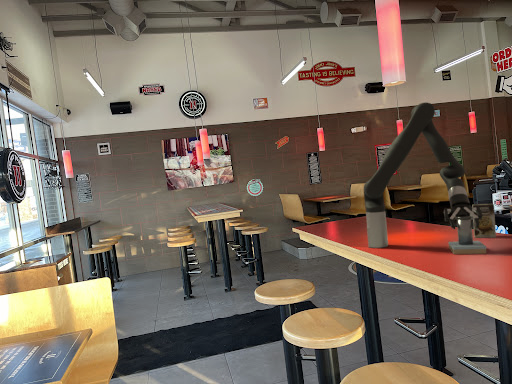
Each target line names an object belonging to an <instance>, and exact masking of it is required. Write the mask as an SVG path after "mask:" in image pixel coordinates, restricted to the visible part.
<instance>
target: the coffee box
mask: <svg viewBox="0 0 512 384" xmlns="http://www.w3.org/2000/svg"><path fill="white" fill-rule="evenodd" d="M476 206H479V207H480V210H481V213H482V215H483V217H482V220H479V223H480V225H479V227H478V228H476V227H475V223H474V220H473V221H472V222H473V223H472V225H473V238H477V239H480V238H481V239H482V238H483V239H484V238H486V239H487V238H488V239H489V238H490V239H493V238H495V239H496V238H497V234H496V218H495V217H496V215H495V204H494V203H473V204H472V206H471V207H472V208H475V207H476ZM472 212H473V213H474V214H475V215H476V216H477V213H475V212H474V211H472Z"/></svg>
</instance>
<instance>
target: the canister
mask: <svg viewBox="0 0 512 384" xmlns="http://www.w3.org/2000/svg"><path fill="white" fill-rule="evenodd" d="M455 220H456V227H457V240H458V241H457V242H459V244H460V245H472V244H473V241H474V239H473V238H474V234H473V226H472V225H473V223H472V219H471V216H457V217H456V219H455Z"/></svg>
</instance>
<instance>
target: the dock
mask: <svg viewBox="0 0 512 384" xmlns="http://www.w3.org/2000/svg"><path fill="white" fill-rule="evenodd" d="M448 249H449V250H450V251H451V252H452V254H453V255H479V254H480V255H481V254H483V255H484V254H487V246H486V245H485V244H484V243H482V241H480V240H473V244H472V245H460V244H459V241H448Z"/></svg>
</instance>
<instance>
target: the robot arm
mask: <svg viewBox="0 0 512 384" xmlns="http://www.w3.org/2000/svg"><path fill="white" fill-rule="evenodd" d="M435 113H436V108H435V106H434V105H433V104H432V103H430V102H425V101H424V102H422V103H419V104H417V105H416V106H414V107H413V108H412V109H411V112H410V119H409V121H408V123H407V124H406V126H405V127H404V129H402V130H401V132H400V133H399V134H398V135H397V136H396V137H395V138H394V139H393V141H392V143H391V144H389V145H390V146H389V147H388V148H387V150H386V152H385V153H384V156H383V158H382V160H381V163H380V165H379V167H378V168H377V171H376V172H375V173H374V174H373V176H371V178H370V179H369V180H367V181H365V183H364V184H363V197H364V207H365V216H366V231H367V233H366V235H367V245H368V248H372V249H373V248H375V249H377V248H387V247H388V246H389V239H388V238H389V237H388V228H387V214H386V205H385V198H384V192H385V191H386V188H387V186H388V184H389V182H390V180H391V178H392V177H393V176H394V175H395V173H396V172H397V171H398V169H399V168H400V167H401V165H402V164H403V163H404V162H405V160H406V158H407V157H408V155H409V154H410V152H411V151H412V149H413V147H414V145H415V143H416V142H417V140H418V138H419V137H420V135H421V133H422V134H423V136H424V138H425V140H426V142H427V143H428V145H429V147H430V149H431V152H432V153H433V156H434V157H435V159H436V161H437V163H439V164H444V163H449V164H450V165H446V166H445V167H442V168H441V169H440V170H439V176H440V178H441V180H442V181H443V182H444V184H445V185H446V186H445V187H446V188H447V193H448V201H449V204H450V208H447V207H444V208H443V215H444V216H443V217H444V222H448V223H449V224H450V227H451V229H452V230H456V224H455V223H456V222H455V220H457V219H456V217H457V216H471V221H472V220H474V223H475V227H476V228H478V227H479V225H480V223H479V220H482V217H483V215H482V213H481V210H480V207H479V206H476V207H475V208H472V206H471V204H470V200H469V195H468V191H466V187H465V183H464V181H463V179H462V178H461V177H463V176H465V174H466V168H464V166H463V165H462V164H461V162H459V160H458V159H457V158H455V156H454V154H453V153H452V151H451V149H450V147H449V145H448V143H447V141H446V140H445V139H444V137H443V136H442V135H441V134H440V133H439V131H438V130H437V128H436V126H435V125H434V121H433V118H434V116H435ZM473 211H474V212H475V213H477V216H476V215H475V214H474V213H473ZM450 213H451V214H452V215H451V216H450V217H449V214H450Z"/></svg>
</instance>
